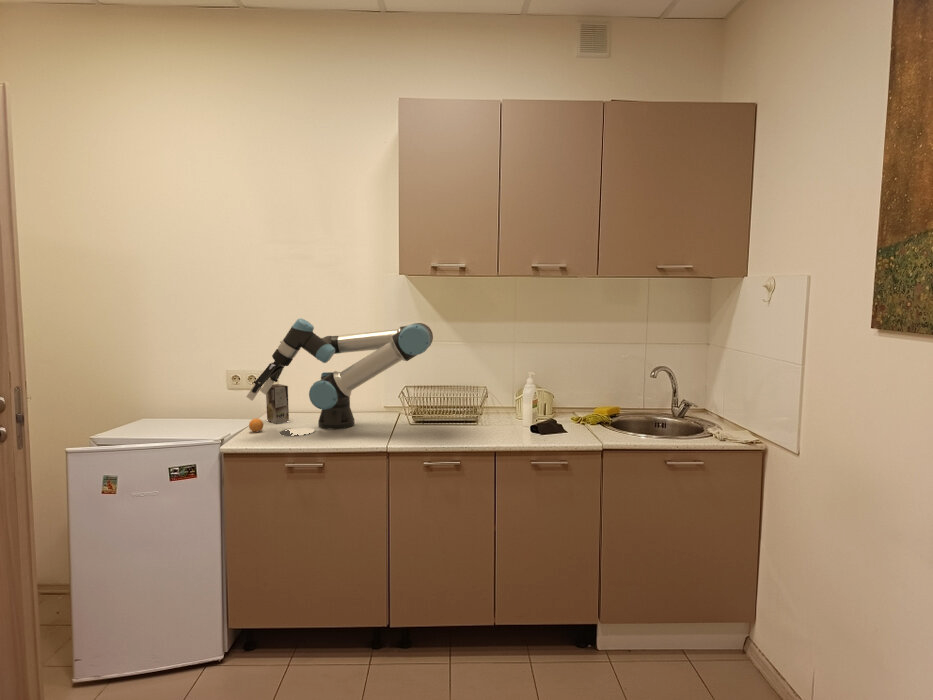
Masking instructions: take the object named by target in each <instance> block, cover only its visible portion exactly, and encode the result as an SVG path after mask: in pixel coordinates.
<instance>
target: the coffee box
mask: <svg viewBox="0 0 933 700" xmlns="http://www.w3.org/2000/svg"><path fill="white" fill-rule="evenodd" d="M265 399H266V401H265V402H266V421H267V420H268V421H267V422H269V421H271V422H270V423H272V422H273V423H272V424H275V423H279V424H283V423H282V422H286V423H288V422H287V421H289V422H290V415H289V414H290V413H289V411H290V410H289V386H288V385H285V384H280V383H276V384H275V383H273V385H272V386H271V388H270V389H269V391H268V392H267V394H266V395H265Z"/></svg>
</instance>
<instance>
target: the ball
mask: <svg viewBox="0 0 933 700" xmlns="http://www.w3.org/2000/svg"><path fill="white" fill-rule="evenodd" d="M248 427H249V430H250V431H252V432H254V433H257V432H258V431H259V432H260V431H263V430H262V429H263V428H264V422H263V421H262V419H260V418H257V417H256V418H253V419H251V420H250V421H249V424H248Z"/></svg>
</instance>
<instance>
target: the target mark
mask: <svg viewBox="0 0 933 700" xmlns="http://www.w3.org/2000/svg"><path fill="white" fill-rule="evenodd" d="M287 429H288V428H287ZM287 429H283V430H281V431H279V433H280V434H281V435H280V434H279V435H280V436H283V435H284V437H292V436H291V435H292V434H293V433H291V434H290V431H289V430H287ZM285 430H287V431H285ZM308 435H311V434H310V433H309V434H308ZM303 436H307V435H306V434H304V435H303ZM293 437H300V436H299V435H298V434H297V435H294V436H293Z"/></svg>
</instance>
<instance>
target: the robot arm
mask: <svg viewBox="0 0 933 700" xmlns="http://www.w3.org/2000/svg"><path fill="white" fill-rule="evenodd" d="M314 330H315V327H314V325H313V324H312V323H311V322H309V321H308V320H306V319H304V318H297V320H295V322H294V323H293V324H292V325H291V327H290V328H289V330H288V332H287V333H286V335H285V337H284V338H283V339H282V340H280V341H279V343H280V344H279V345H278V346H277V348H276V349H275V351H274V352H273V354H272V355H271V356H272V359H273V360H274V361H273V362H270V363H269V364H268V366H267V367H266V368H265V369H264V370H263V371H262V373H261V374H260V375H259V376H258V378H257V379H256V380H254V381H253V384H254V385H253V386H252V388H251V389H250V391H249V392H248V394H247V395H246V396H245V397H246V398H247V399H248V400H250V401H253V400H255V398H256V396H258V393H259V392H261V393H262V394H263V395H265V396H266V394H267V392H268V391H269V389H270V388H271V386H272V385H274V384H275V383H277V382H278V379H279V378H280V376H281V374H282V373H283V370H284V368H285V367H289V366H290V364H291V363H292V361H293V360H294V358H295V357H296V356H297V354H298V353H299V351H300V350H301V349H303V350H304V351H306V352H307V353H308V354H310V355H311V356H313V357H314V358H315V359H316V360H317V361H320V362H321V363H323V364H326V363H328V362H329V361H331V359H332V357H333V356H334V355H335V354H336V355H337V354H343V353H344V354H345V353H355V352H365V351H373V352H371V353H369V354H368V355H366V356H364V357H363V358H361V359H360V360H358V361H356V362H355V363H353V364H351V365H350V366H348V367H346V368H345V369H343V370H342V371H336V370H335V371H333V372H327V371H326V372H322V373H321V374H320V375H321V376H320V379H319V380H317V381H315V382H313V383H312V385H311V386H310V388H309V392H308V398H309V400H310V403H311V404H312V405H313V406H314V407H315V408H317V409H319V410H321V411H320V414H319V417H318V422H317V423H318V424H317V425H318V428H320V429H323V428H324V430H340V429H341V430H342V429H349V428H352V427H353V426H355V425H354V424H355V417H354V414H353V411H352V409H351V397H350V396H351V395H352V391H353V390H355V389H357V388H358V387H360V386H362V385H363V384H365V383H366V382H368V381H370V380H371V379H373V378H375V377H376V376H378V375H379V374H381V373H382V372H385V371H386V370H388V369H389V368H392V367H393V366H394V365H396V364H398V363H400V362H401V361H404V362H408V361H411V360H412V359H413V358H415V357H418V355H421V354H423V353H425V352H426V351H427V350H428V348H429V347H431V344H432V343H433V340H434V336H433V331H432V329H431V327H430V326H428V325H427V324H426V323H422V322H415V323H412V324H409V325H404V326H403V325H402V326H399V327H398V329H391V330H390V329H388V330H378V331H370V332H360V333H359V332H358V333H351V334H349V333H348V334H340V335H326V336H324V337H320V336H319V335H317V334H316V333H314Z"/></svg>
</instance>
